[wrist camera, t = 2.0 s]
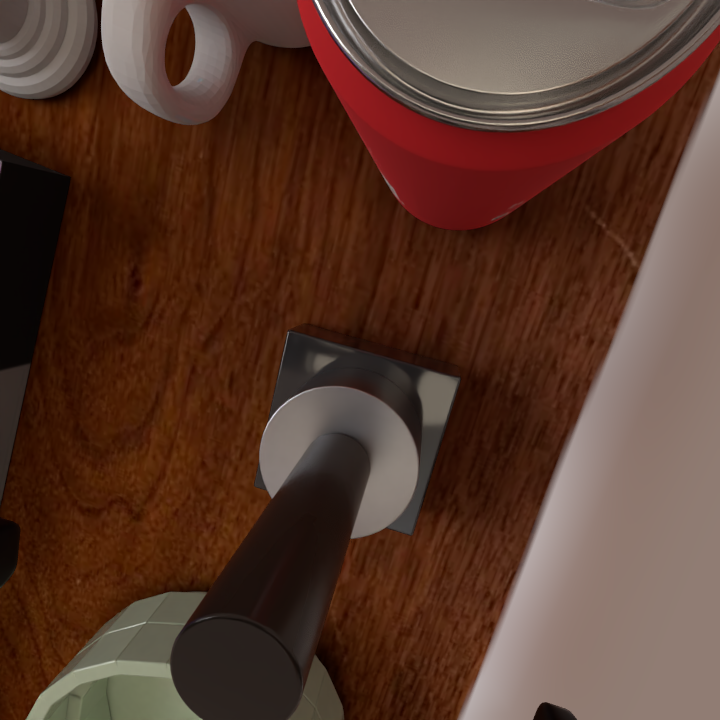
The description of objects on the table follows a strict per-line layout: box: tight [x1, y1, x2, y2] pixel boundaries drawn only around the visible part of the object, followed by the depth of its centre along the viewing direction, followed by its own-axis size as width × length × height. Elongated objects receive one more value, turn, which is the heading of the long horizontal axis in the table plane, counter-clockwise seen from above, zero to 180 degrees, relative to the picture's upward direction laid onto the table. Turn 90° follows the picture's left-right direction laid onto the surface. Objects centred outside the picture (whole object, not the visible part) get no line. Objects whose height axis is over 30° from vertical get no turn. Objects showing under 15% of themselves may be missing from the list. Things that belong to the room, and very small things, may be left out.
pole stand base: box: [254, 323, 461, 536], centre depth 17 cm, size 6×6×2 cm
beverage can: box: [297, 0, 720, 230], centre depth 10 cm, size 5×5×12 cm
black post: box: [170, 368, 422, 720], centre depth 12 cm, size 5×5×10 cm
